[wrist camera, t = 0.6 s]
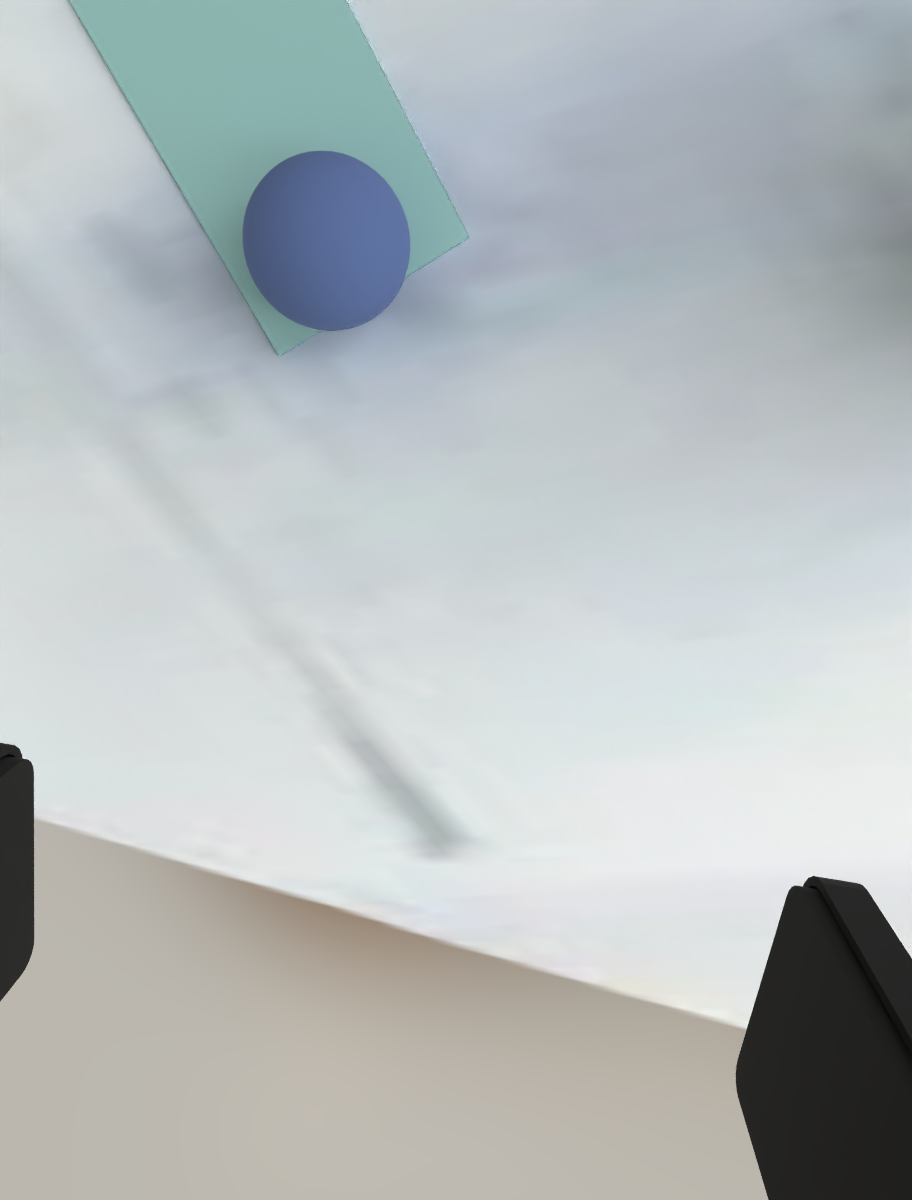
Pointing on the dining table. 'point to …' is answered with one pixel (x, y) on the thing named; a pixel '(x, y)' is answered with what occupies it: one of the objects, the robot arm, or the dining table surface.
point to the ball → (326, 240)
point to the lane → (264, 113)
